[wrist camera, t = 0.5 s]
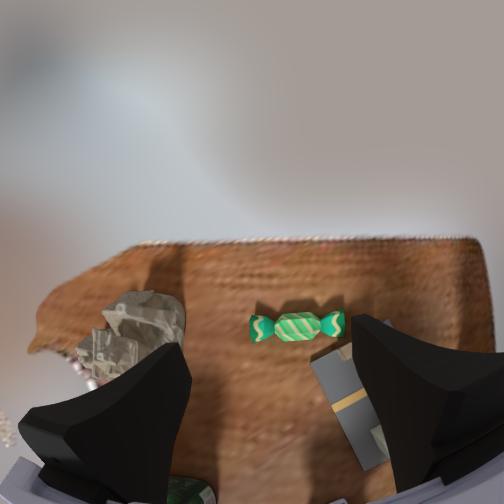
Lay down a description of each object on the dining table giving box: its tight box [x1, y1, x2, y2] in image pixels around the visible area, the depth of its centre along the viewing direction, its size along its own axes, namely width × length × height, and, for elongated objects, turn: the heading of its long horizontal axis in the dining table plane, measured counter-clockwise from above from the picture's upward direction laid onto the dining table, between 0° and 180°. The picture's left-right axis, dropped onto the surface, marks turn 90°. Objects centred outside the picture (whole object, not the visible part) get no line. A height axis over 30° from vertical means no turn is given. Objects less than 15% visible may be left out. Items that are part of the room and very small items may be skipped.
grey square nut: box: [370, 425, 391, 461], centre depth 23 cm, size 3×6×7 cm, turn 114°
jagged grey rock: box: [75, 290, 186, 380], centre depth 34 cm, size 16×16×15 cm
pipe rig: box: [310, 318, 394, 472], centre depth 28 cm, size 18×12×6 cm, turn 24°
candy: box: [250, 308, 345, 343], centre depth 35 cm, size 12×3×4 cm
